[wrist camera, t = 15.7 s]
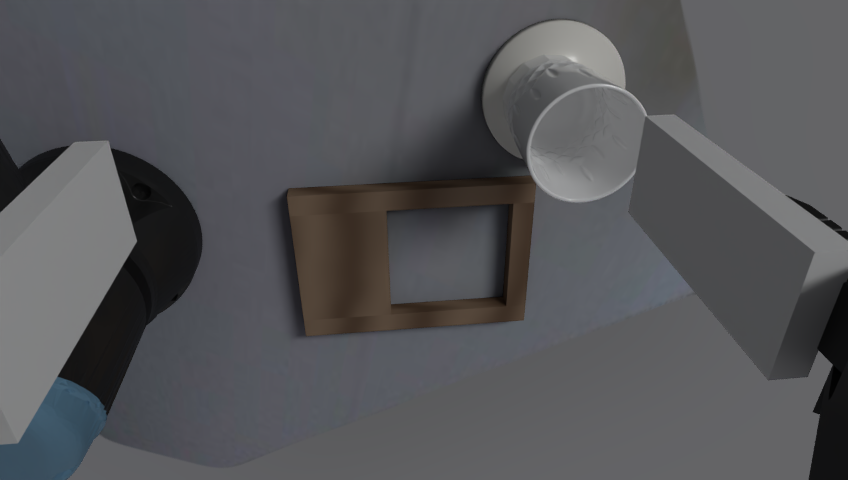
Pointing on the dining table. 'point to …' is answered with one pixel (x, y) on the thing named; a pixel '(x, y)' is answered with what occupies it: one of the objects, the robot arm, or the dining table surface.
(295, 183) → the dining table surface
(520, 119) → the white cup
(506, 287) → the board
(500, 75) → the coaster
